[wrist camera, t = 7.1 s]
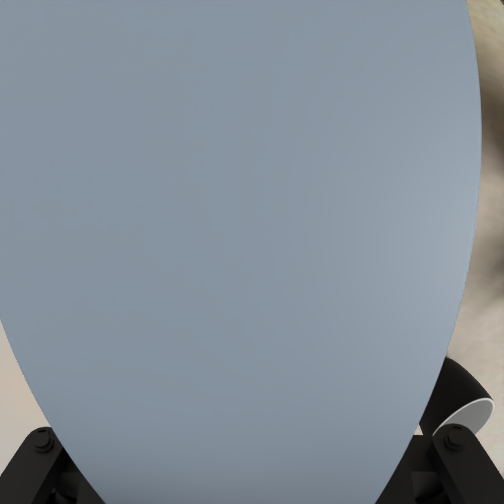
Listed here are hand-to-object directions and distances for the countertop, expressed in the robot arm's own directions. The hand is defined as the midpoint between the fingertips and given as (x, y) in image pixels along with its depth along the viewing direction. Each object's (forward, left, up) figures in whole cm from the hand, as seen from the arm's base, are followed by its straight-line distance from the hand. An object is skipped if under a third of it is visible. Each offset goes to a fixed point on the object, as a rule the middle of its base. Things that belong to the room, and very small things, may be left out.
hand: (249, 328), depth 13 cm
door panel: (0, 0, 0) cm, 0 cm away
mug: (+20, +25, -17) cm, 36 cm away
